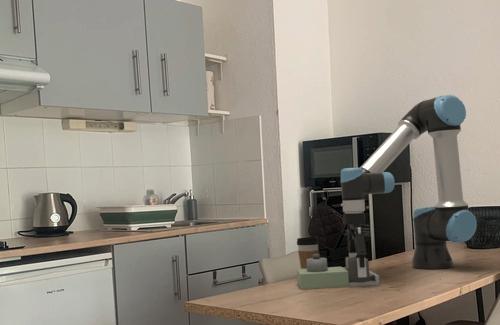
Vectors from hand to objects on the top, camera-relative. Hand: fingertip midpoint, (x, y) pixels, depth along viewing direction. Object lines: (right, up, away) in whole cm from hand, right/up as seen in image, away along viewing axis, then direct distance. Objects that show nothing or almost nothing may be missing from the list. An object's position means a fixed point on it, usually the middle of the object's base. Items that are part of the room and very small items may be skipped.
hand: (358, 274), depth 193 cm
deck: (-12, -4, 0) cm, 13 cm away
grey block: (0, -3, 0) cm, 3 cm away
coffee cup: (-15, -5, +19) cm, 24 cm away
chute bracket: (0, -3, 0) cm, 3 cm away
